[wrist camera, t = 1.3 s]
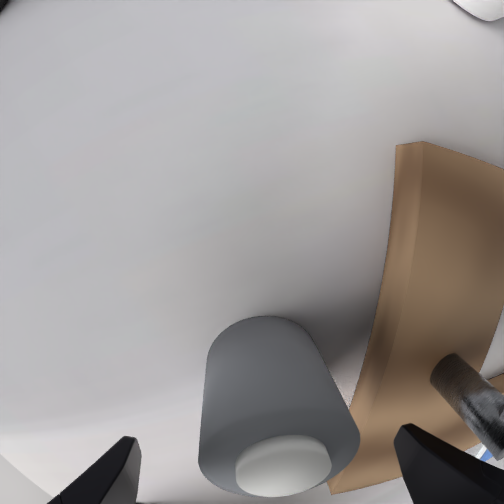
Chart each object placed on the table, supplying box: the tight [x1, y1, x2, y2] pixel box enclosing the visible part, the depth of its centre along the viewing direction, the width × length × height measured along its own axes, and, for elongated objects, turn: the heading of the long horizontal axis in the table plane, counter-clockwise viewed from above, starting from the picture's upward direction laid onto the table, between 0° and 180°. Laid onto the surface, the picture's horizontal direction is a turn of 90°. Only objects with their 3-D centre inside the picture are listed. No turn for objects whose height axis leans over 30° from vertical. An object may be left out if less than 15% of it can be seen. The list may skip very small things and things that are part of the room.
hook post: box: [430, 353, 504, 461], centre depth 8 cm, size 7×2×6 cm, turn 177°
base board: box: [327, 141, 504, 495], centre depth 13 cm, size 20×19×2 cm
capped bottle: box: [198, 316, 360, 497], centre depth 10 cm, size 5×5×6 cm
